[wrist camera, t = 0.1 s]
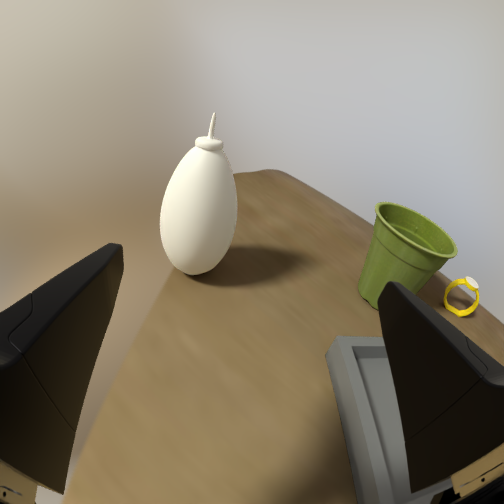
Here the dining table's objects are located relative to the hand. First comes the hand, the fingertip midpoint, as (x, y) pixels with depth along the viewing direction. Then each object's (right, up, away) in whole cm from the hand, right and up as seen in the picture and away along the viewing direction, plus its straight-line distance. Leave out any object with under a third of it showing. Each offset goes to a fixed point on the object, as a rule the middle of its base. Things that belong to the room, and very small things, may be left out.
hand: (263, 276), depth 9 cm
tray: (+15, -16, +13) cm, 25 cm away
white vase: (-7, -1, +26) cm, 27 cm away
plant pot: (+17, -5, +29) cm, 34 cm away
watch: (+31, -9, +29) cm, 43 cm away
